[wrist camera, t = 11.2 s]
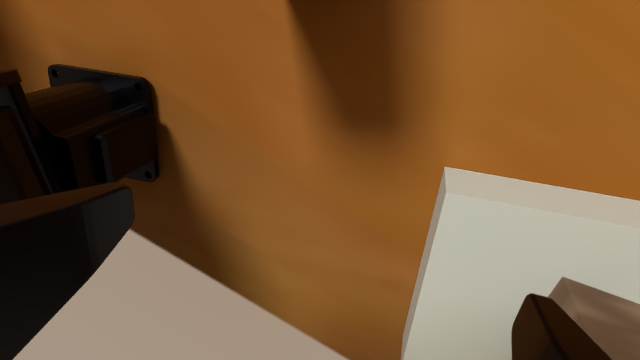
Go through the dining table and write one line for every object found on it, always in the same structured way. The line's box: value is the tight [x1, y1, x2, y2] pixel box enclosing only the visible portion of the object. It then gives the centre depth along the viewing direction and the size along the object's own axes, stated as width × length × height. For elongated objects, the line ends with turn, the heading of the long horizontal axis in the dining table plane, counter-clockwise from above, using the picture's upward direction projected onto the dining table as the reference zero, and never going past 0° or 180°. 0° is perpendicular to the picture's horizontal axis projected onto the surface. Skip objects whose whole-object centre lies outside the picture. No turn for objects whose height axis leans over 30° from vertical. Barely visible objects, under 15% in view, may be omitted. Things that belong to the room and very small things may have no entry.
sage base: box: [401, 167, 640, 360], centre depth 21 cm, size 12×12×3 cm
